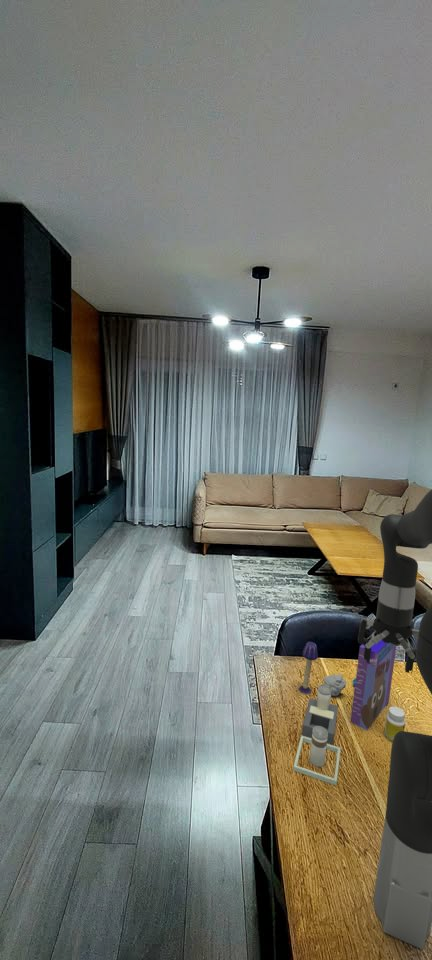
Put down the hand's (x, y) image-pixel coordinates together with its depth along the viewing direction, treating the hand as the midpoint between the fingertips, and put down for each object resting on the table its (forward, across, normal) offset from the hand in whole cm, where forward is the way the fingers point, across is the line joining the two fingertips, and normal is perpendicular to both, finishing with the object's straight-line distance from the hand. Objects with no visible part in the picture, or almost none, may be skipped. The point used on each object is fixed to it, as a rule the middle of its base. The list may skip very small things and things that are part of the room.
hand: (387, 666), depth 99 cm
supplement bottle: (+28, +5, +14) cm, 32 cm away
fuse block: (+28, -14, +10) cm, 33 cm away
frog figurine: (+28, -12, +26) cm, 40 cm away
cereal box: (+28, -1, +22) cm, 36 cm away
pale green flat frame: (+28, -13, -4) cm, 31 cm away
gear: (+28, -3, +35) cm, 45 cm away
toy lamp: (+28, -20, +23) cm, 42 cm away
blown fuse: (+28, -13, -4) cm, 31 cm away
